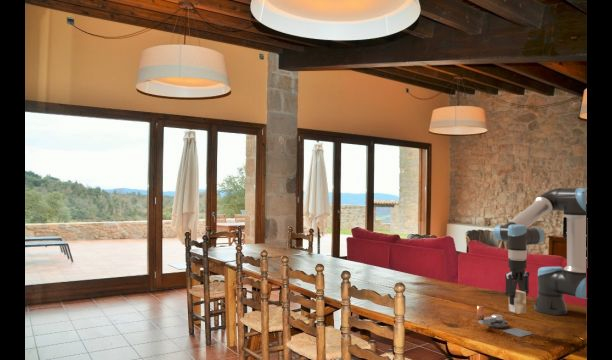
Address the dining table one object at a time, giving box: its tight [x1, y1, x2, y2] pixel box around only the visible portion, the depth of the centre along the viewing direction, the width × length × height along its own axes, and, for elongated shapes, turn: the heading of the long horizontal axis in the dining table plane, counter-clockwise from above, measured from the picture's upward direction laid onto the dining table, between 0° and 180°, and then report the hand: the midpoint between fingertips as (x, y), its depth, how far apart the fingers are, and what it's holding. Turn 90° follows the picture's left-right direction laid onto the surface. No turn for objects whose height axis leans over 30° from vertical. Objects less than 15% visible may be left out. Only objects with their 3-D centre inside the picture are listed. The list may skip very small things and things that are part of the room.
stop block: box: [508, 289, 527, 315], centre depth 199 cm, size 5×5×9 cm
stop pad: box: [502, 327, 534, 338], centre depth 199 cm, size 9×9×1 cm
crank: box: [476, 305, 504, 325], centre depth 207 cm, size 15×5×8 cm, turn 117°
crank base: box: [486, 319, 509, 330], centre depth 209 cm, size 9×9×2 cm
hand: (517, 310), depth 199 cm, fingers closed on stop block, 5 cm apart
